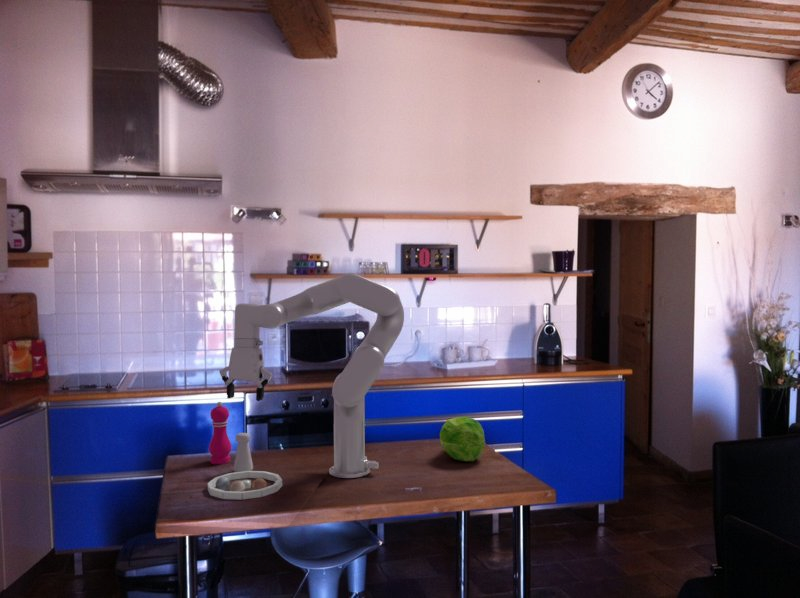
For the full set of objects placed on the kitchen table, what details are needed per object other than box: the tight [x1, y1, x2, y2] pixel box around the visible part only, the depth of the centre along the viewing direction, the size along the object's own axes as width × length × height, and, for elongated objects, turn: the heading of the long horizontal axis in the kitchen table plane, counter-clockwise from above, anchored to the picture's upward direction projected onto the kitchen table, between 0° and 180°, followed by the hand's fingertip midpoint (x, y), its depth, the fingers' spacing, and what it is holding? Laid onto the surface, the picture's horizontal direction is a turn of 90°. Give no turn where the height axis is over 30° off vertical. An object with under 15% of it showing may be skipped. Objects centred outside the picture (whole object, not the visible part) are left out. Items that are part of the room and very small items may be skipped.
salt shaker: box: [233, 432, 254, 473], centre depth 200 cm, size 6×6×13 cm
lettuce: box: [439, 416, 486, 462], centre depth 220 cm, size 15×22×15 cm
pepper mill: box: [208, 401, 233, 465], centre depth 215 cm, size 7×7×20 cm
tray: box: [207, 470, 283, 500], centre depth 184 cm, size 20×20×3 cm
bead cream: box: [229, 480, 246, 492], centre depth 178 cm, size 4×4×4 cm
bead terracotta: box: [251, 478, 268, 490], centre depth 180 cm, size 4×4×4 cm
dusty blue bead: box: [215, 477, 231, 491], centre depth 181 cm, size 4×4×4 cm
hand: (245, 399), depth 200 cm, fingers open, 9 cm apart
